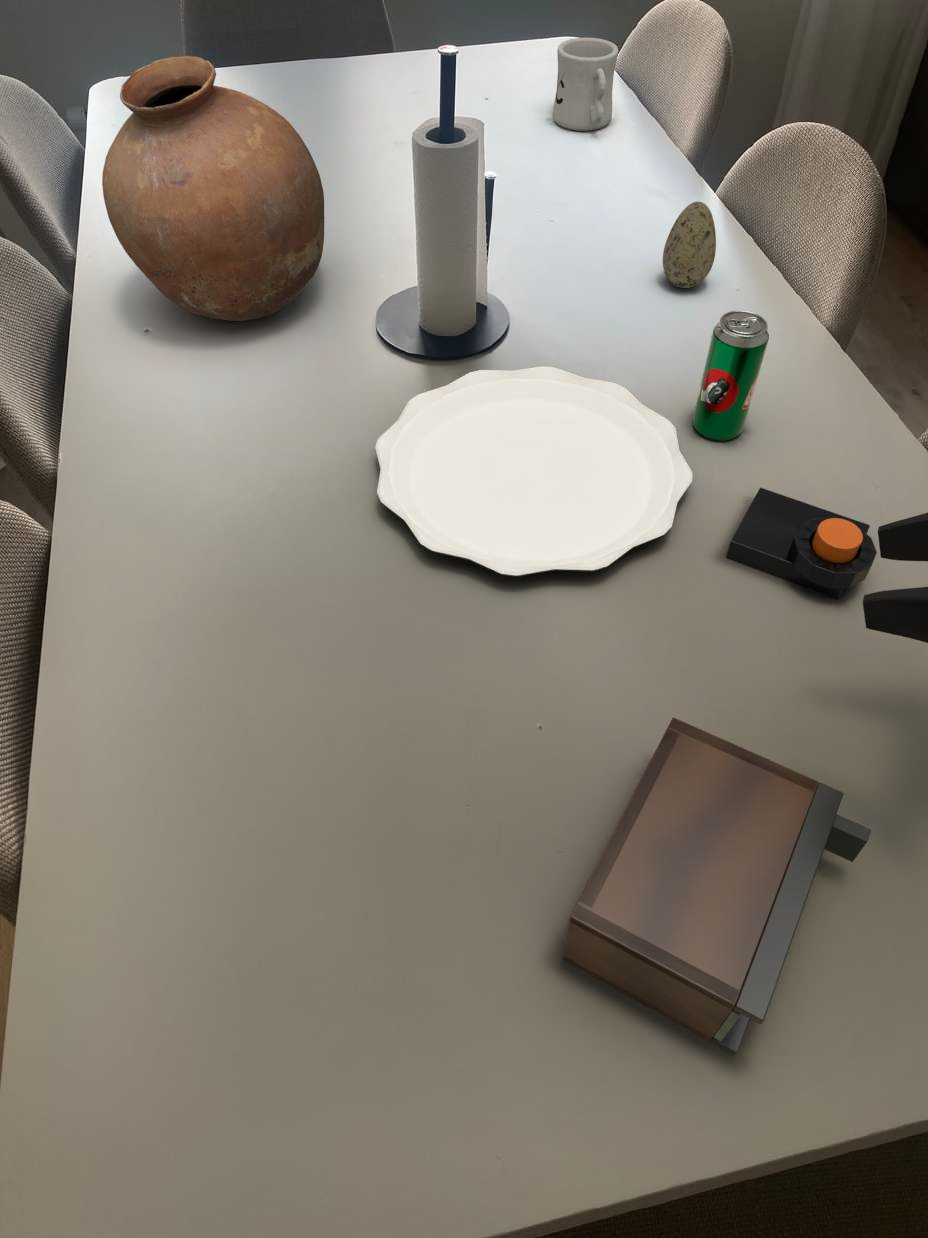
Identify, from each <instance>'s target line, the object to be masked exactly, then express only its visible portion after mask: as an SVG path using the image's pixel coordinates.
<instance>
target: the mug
mask: <svg viewBox="0 0 928 1238" xmlns="http://www.w3.org/2000/svg"><path fill="white" fill-rule="evenodd" d="M556 51H557V80H556V91H555V98H554V104H553V107H552V117H553V121H554V122H555V123H556V124H557V125H559V126H560V127H562V128H564V129H567V130H571V131H578V132H579V131H581V132H585V131H586V132H588V131H596V130H600V129H602V128H604V127H605V126H607V125H608V124H609V123H610V122H611V120H612V117H613V87H614V75H615V69H616V66H617V60H618V55H619V47H618V46H617V45H616V44H615V43H614V42H612V41H609V40H607V39H604V38H603V39H602V38H597V37H575V38H570V39H567V40H564V41H562V42H561V43H560V44H559V45H558V46H557V49H556Z"/></svg>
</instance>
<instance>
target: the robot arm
mask: <svg viewBox="0 0 928 1238" xmlns="http://www.w3.org/2000/svg"><path fill="white" fill-rule="evenodd" d="M877 537H878V546H879V554H880V558H881V559H885V560H891V561H898V562H899V561H902V562H903V561H904V562H928V512H925V513H922V514H917V515H914V516H911V517H907V518H904V519H900V520H895V521H893V522H889V523H887V524H883V525H879V526H878V529H877ZM862 609H863V616H864V623H865V629H868V630H871V631H874V632H875V631H876V632H880V633H884V634H888V635H889V634H890V635H895V636H897V637H903V638H907V639H912V640H915V641H920V642H923V643H926V644H928V586H921V587H909V588H898V589H897V588H896V589H886V590H882V591H875V592H871V593H867V594H864V595H863V597H862Z"/></svg>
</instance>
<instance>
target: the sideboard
mask: <svg viewBox="0 0 928 1238" xmlns="http://www.w3.org/2000/svg"><path fill="white" fill-rule="evenodd" d="M844 795H845V794H844V792H843V791H840V790H838V789H836V788H833V787H832V786H830V785H827V784H825V783H823V782H819V781H818V780H816V779H814V778H812V777H809V776H808V775H805V774H802V773H800V772H798V771H796V770H793V769H791V768H789V767H787V766H785V765H782V764H780V763H779V762H776V761H773V760H771V759H769V758H767V757H765V756H762V755H760V754H757V753H755V752H754V751H753V752H752V751H750V750H748V749H746V748H744V747H742V746H739V745H737V744H735V743H733V742H730V741H729V740H725V739H724V738H721V737H719V736H717V735H714V734H713V733H710V732H708V731H706V730H703V729H701V728H699V727H696V726H694V725H692V724H690V723H687V722H685V721H683V720H681V719H678V718H676V717H671V720H670V722H669V724H668V726H667V728H666V730H665V732H664V733H663V736H662V737H661V739H660V741H659V743H658V745H657V747H656V749H655V750H654V753H653V755H652V757H651V759H650V760H649V762H648V764H647V766H646V769H644V771H643V774H642V776H641V778H640V780H639V781H638V783H637V785H636V788H635V789H634V791H633V794H632V795H631V797H630V799H629V801H628V803H627V805H626V808H625V809H624V811H623V813H622V815H621V817H620V819H619V821H618V822H617V824H616V826H615V828H614V830H613V832H612V834H611V836H610V838H609V840H608V842H607V843H606V846H605V848H604V850H603V852H602V854H601V855H600V857H599V859H598V861H597V863H596V864H595V867H594V869H593V871H592V872H591V875H590V876H589V879H588V880H587V883H586V885H585V887H584V888H583V890H582V892H581V894H580V896H579V897H578V899H577V902H576V904H575V905H574V908H573V910H572V911H571V914H570V915H569V919H568V924H567V930H566V934H565V939H564V944H563V949H562V952H561V953H562V954H561V956H560V958H561V960H562V961H564V962H566V963H568V964H570V965H572V966H573V967H575V968H577V969H578V970H580V971H582V972H583V973H586V974H587V975H589V976H591V977H593V978H595V979H597V980H598V981H600V982H602V983H604V984H606V985H607V986H609V987H611V988H613V989H615V990H616V991H618V992H620V993H622V994H623V995H625V996H627V997H629V998H631V999H632V1000H634V1001H636V1002H638V1003H639V1004H641V1005H643V1006H645V1007H647V1008H648V1009H650V1010H652V1011H654V1012H656V1013H658V1014H659V1015H661V1016H663V1017H664V1018H666V1019H668V1020H670V1021H671V1022H673V1023H675V1024H677V1025H679V1026H681V1027H682V1028H684V1029H686V1030H688V1031H690V1032H691V1033H693V1034H694V1035H697V1036H699V1037H700V1038H702V1039H704V1040H705V1041H708V1042H710V1043H711V1044H713V1045H715V1046H716V1047H719V1048H720V1049H722V1050H724V1051H726V1052H727V1053H729V1054H731V1055H733V1056H737V1055H738V1053H739V1051H740V1048H741V1045H742V1043H743V1040H744V1037H745V1034H746V1031H747V1029H748V1026H749V1023H750V1020H751V1021H752V1022H755V1023H757V1024H759V1025H761V1024H762V1023H763V1022H764V1021H765V1019H766V1016H767V1013H768V1010H769V1008H770V1004H771V1002H772V999H773V995H774V994H775V990H776V987H777V986H778V982H779V979H780V977H781V973H782V971H783V968H784V965H785V963H786V959H787V957H788V953H789V950H790V948H791V944H792V942H793V939H794V936H795V934H796V931H797V928H798V925H799V922H800V920H801V917H802V914H803V911H804V908H805V905H806V902H807V900H808V896H809V894H810V891H811V889H812V885H813V883H814V879H815V877H816V874H817V871H818V869H819V865H820V863H821V859H822V857H823V854H824V851H825V849H824V848H825V846H826V843H827V840H828V837H829V834H830V831H831V829H832V826H833V823H834V820H835V817H836V814H838V812H839V809H840V806H841V803H842V800H843V797H844Z"/></svg>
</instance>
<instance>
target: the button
mask: <svg viewBox="0 0 928 1238" xmlns="http://www.w3.org/2000/svg"><path fill="white" fill-rule="evenodd" d="M862 540H863V535H862V532H861V530H860V529H859V528H858V527H857V526H856V525H855V524H853V523H852V522H850V521H847V520H844V519H839V518H830V519H826V520H824V521H822V522H821V523H820V524H819V526H818V528H817V531H816V533H815V536H814V538H813V541H812V547H813V550H814V552H815V553H816V554H817V555H818V556H820V557H821V558H823V559H825V560H828V561H831V562H834V563H846V562H849V561H851V560H852V559H853V558H854V557H855V555H856V553H857V551H858V549H859V547H860V545H861V543H862Z"/></svg>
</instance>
